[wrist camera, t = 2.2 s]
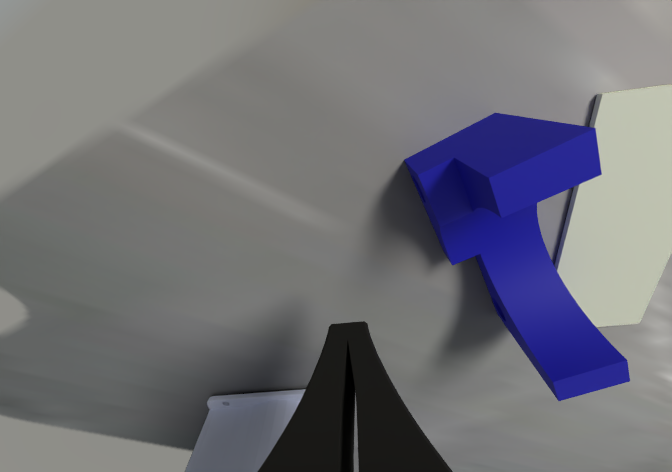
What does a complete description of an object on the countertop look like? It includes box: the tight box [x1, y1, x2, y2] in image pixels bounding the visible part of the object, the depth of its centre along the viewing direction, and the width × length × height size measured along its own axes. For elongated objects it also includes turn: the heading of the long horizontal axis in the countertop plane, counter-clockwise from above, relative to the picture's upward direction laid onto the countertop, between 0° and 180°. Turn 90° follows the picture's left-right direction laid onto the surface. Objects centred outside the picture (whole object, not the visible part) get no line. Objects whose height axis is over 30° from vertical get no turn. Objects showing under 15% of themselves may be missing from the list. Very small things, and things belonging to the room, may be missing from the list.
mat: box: [554, 84, 672, 327], centre depth 16 cm, size 6×14×1 cm, turn 7°
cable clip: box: [404, 113, 630, 401], centre depth 14 cm, size 12×4×6 cm, turn 29°
